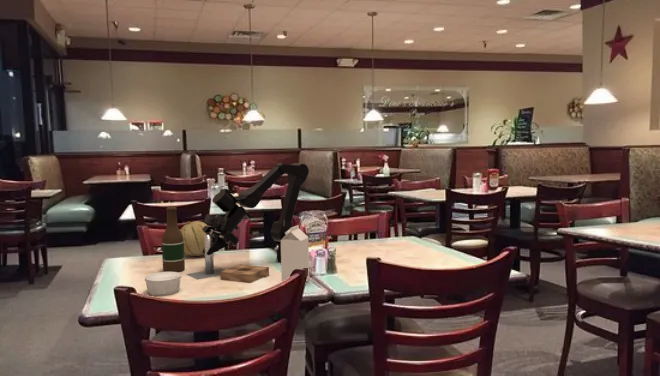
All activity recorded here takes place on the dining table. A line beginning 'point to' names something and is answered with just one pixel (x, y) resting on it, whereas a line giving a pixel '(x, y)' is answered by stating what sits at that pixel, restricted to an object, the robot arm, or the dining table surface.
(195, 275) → the rubber mat
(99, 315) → the dining table surface
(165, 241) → the beer bottle
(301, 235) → the milk carton
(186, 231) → the cantaloupe
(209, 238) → the steel pin
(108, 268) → the dining table surface
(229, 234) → the robot arm
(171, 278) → the ramekin
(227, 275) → the socket block
